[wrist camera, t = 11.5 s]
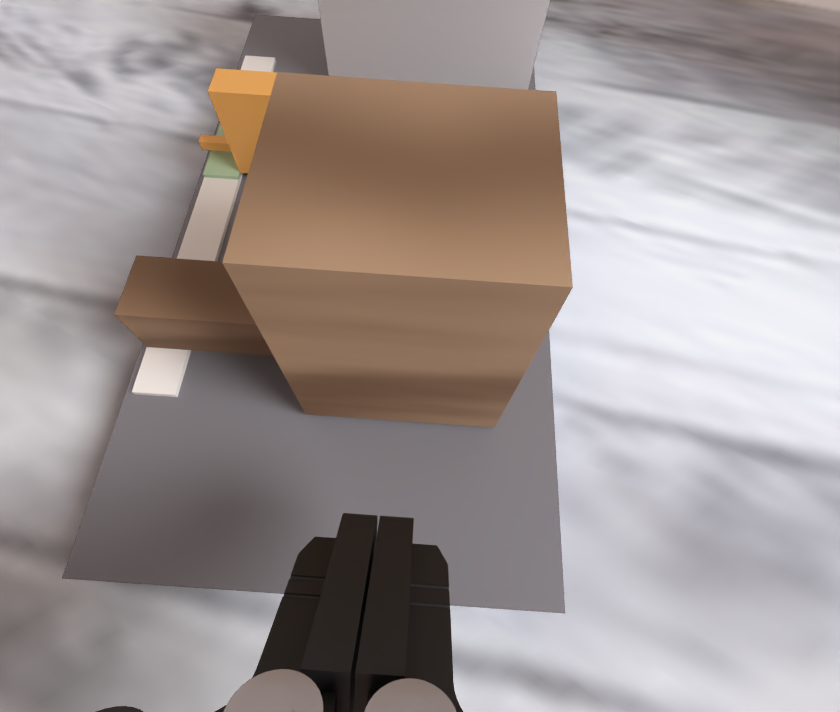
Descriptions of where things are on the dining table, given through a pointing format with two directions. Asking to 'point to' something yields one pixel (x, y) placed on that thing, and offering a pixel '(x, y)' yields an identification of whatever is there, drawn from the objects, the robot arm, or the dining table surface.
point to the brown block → (382, 250)
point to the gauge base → (328, 435)
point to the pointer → (239, 112)
